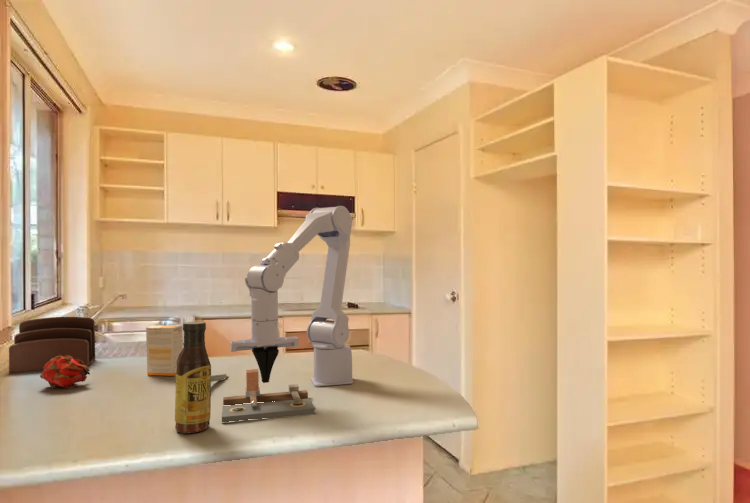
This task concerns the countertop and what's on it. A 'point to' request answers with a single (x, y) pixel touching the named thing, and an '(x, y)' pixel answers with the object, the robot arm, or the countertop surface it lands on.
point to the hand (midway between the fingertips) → (265, 381)
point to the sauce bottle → (193, 381)
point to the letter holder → (52, 342)
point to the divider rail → (271, 397)
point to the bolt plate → (267, 410)
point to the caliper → (218, 377)
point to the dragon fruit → (64, 371)
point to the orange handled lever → (252, 386)
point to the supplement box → (163, 349)
